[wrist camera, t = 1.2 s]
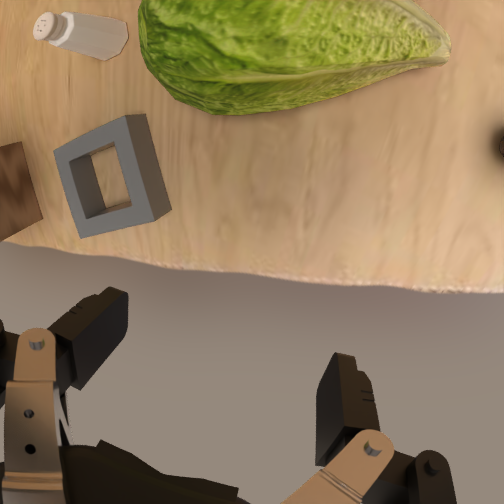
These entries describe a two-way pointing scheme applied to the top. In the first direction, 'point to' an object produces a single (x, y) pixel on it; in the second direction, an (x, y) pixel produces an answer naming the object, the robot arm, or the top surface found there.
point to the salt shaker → (83, 33)
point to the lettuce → (282, 49)
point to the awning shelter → (16, 192)
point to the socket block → (134, 171)
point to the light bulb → (502, 147)
